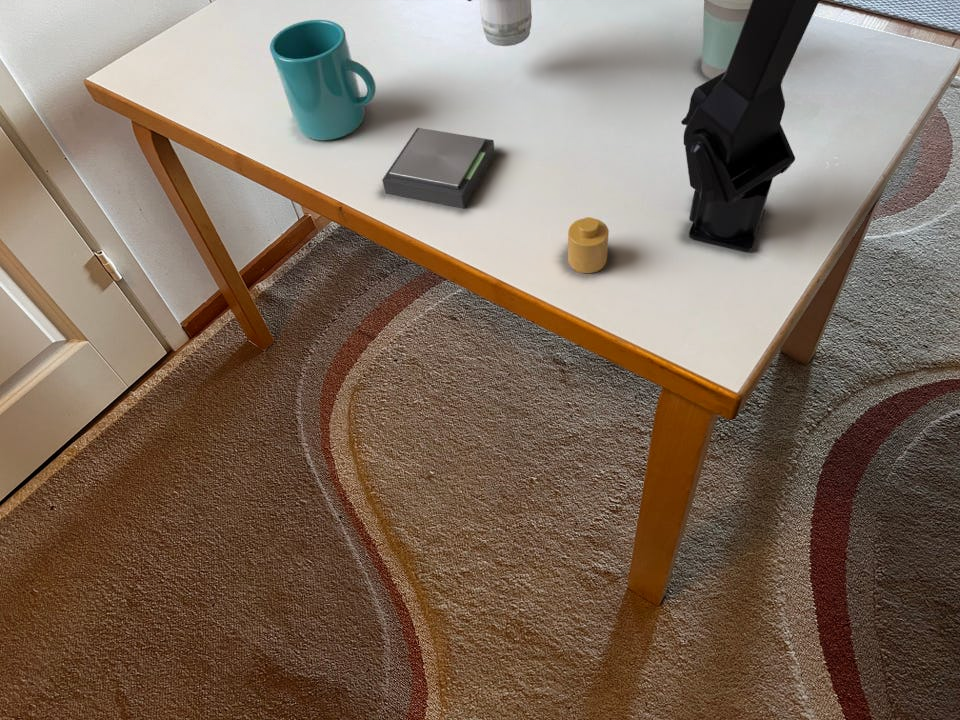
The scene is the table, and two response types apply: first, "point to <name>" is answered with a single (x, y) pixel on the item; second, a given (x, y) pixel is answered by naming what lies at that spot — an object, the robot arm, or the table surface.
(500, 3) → the camera lens
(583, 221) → the brass weight
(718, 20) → the coffee cup
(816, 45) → the table surface
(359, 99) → the cup
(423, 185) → the scale
